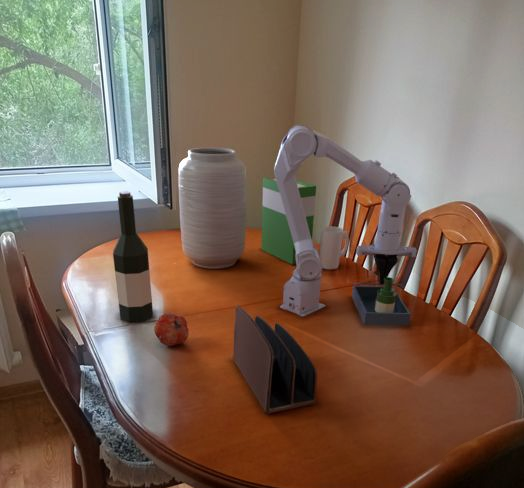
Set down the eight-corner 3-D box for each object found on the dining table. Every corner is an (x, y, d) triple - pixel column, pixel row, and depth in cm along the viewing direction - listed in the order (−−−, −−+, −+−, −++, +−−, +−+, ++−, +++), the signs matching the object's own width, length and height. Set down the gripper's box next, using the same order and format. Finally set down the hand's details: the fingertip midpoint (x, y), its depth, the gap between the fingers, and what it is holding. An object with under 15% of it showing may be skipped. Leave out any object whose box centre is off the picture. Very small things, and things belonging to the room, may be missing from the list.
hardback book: (261, 249, 170) (263, 177, 159) (278, 245, 174) (281, 175, 162) (292, 264, 157) (297, 188, 146) (310, 260, 161) (316, 185, 150)
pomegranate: (151, 351, 111) (161, 343, 103) (148, 319, 113) (157, 309, 104) (183, 348, 115) (195, 340, 106) (179, 317, 116) (191, 307, 107)
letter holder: (266, 415, 88) (268, 347, 82) (232, 360, 105) (232, 300, 98) (315, 404, 92) (322, 338, 85) (275, 353, 108) (278, 294, 101)
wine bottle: (145, 324, 118) (134, 198, 104) (113, 320, 119) (97, 195, 105) (159, 310, 125) (150, 190, 111) (128, 306, 126) (115, 187, 112)
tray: (351, 298, 136) (353, 285, 134) (391, 299, 136) (393, 286, 134) (363, 326, 121) (365, 313, 119) (408, 327, 121) (410, 313, 119)
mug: (324, 271, 153) (328, 233, 148) (313, 263, 159) (317, 227, 153) (351, 267, 157) (356, 230, 152) (340, 260, 163) (344, 224, 157)
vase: (174, 254, 162) (168, 146, 146) (231, 248, 170) (231, 145, 154) (193, 276, 146) (189, 157, 130) (255, 267, 154) (258, 155, 138)
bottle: (385, 324, 121) (392, 284, 116) (369, 318, 124) (375, 278, 119) (395, 318, 124) (402, 279, 119) (379, 312, 127) (386, 274, 122)
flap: (353, 284, 134) (353, 283, 134) (393, 285, 134) (393, 284, 134) (360, 284, 125) (360, 282, 125) (403, 285, 126) (403, 283, 126)
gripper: (414, 226, 123) (405, 277, 130) (356, 224, 123) (350, 275, 129) (422, 234, 117) (412, 287, 124) (362, 233, 117) (355, 286, 123)
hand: (381, 282), depth 126 cm, fingers closed
